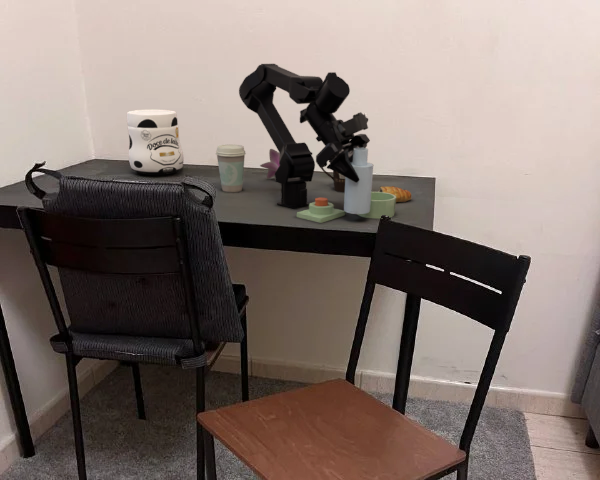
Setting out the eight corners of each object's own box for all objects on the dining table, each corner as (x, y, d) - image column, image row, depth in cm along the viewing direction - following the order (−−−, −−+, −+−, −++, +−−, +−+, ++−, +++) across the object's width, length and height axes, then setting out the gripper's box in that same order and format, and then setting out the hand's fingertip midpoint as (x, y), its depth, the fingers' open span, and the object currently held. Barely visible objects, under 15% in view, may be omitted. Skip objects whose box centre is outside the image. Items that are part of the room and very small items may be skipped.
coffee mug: (365, 189, 184) (367, 154, 179) (346, 194, 179) (348, 158, 174) (335, 183, 191) (336, 149, 186) (317, 187, 186) (317, 152, 180)
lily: (307, 184, 194) (302, 153, 193) (294, 175, 183) (289, 143, 182) (272, 194, 198) (267, 164, 198) (257, 185, 187) (252, 154, 187)
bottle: (338, 210, 153) (341, 148, 146) (354, 206, 157) (357, 145, 150) (359, 215, 150) (363, 152, 142) (374, 210, 154) (379, 148, 146)
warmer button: (312, 206, 156) (312, 198, 155) (320, 203, 158) (320, 196, 157) (322, 208, 154) (322, 201, 154) (330, 205, 157) (330, 198, 156)
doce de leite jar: (169, 180, 192) (164, 116, 182) (120, 175, 196) (112, 113, 186) (193, 169, 206) (189, 110, 197) (146, 166, 210) (140, 108, 201)
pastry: (406, 197, 177) (408, 183, 175) (414, 202, 172) (416, 188, 170) (375, 198, 176) (376, 184, 174) (382, 204, 170) (383, 189, 168)
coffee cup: (211, 189, 181) (209, 146, 175) (233, 185, 187) (231, 143, 180) (231, 194, 176) (229, 150, 170) (252, 190, 182) (251, 146, 175)
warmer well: (348, 213, 160) (349, 196, 158) (370, 206, 167) (371, 189, 165) (380, 221, 155) (381, 202, 152) (401, 213, 161) (403, 196, 159)
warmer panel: (296, 217, 157) (296, 205, 155) (321, 210, 163) (321, 198, 162) (320, 223, 152) (321, 210, 151) (345, 215, 159) (345, 203, 157)
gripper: (329, 104, 135) (371, 162, 136) (365, 97, 149) (403, 150, 150) (298, 139, 143) (338, 194, 144) (334, 129, 157) (371, 180, 158)
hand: (364, 178), depth 149 cm, fingers closed on bottle, 6 cm apart
